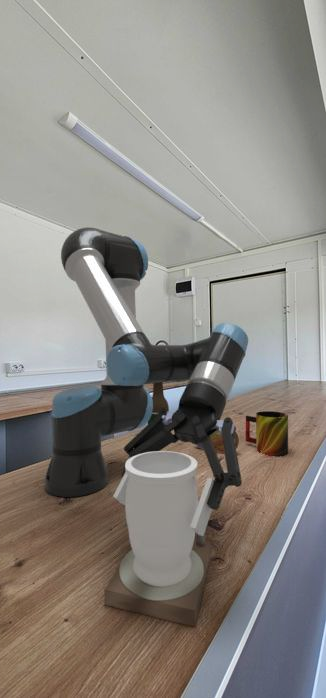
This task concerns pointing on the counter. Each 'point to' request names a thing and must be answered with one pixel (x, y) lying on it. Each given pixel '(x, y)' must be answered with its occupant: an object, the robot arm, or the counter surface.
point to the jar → (161, 515)
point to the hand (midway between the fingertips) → (154, 515)
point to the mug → (269, 433)
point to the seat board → (162, 589)
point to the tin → (219, 442)
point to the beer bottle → (158, 400)
